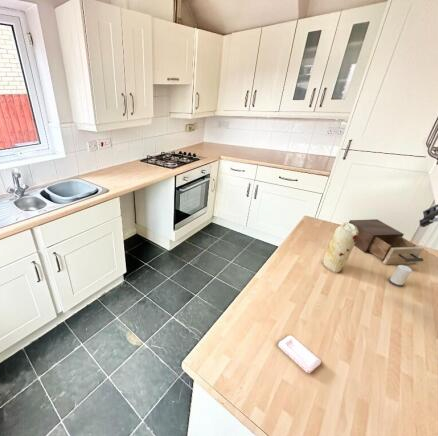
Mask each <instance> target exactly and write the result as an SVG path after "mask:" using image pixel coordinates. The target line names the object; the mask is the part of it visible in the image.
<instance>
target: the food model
mask: <svg viewBox="0 0 438 436" xmlns="http://www.w3.org/2000/svg"><path fill="white" fill-rule="evenodd" d="M358 233H359V232H358V229H357V227H356V226H355V225H353V224H350V223H349V222H343V223H342V224H341V225H339V226H338V227H336V229H335V230H334V233H333V235H332V238H331V240H330V242H329V245H328V247H327V249H326V253H325V255H324V258H323V265H324V266H325V267H326V268H327V269H328V270H330V271H331V272H334V273H336V274H337V273H340V272H341V271H342V269H343V267H344V266H345V265H346V263H347V261H348V259H349V257H350V255H351V253H352V252H353V249H354V246H355V245H354V244H355V242H356V239H357V236H358Z"/></svg>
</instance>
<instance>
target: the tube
mask: <svg viewBox="0 0 438 436" xmlns="http://www.w3.org/2000/svg"><path fill="white" fill-rule="evenodd" d="M412 271H413V270H412V268H410V267H409V266H407V265H404V264H397V267H396V268H395V270H394V272H393V273H392V275H391V277H390V278H389V279H388V282H389V283H390V284H391V285H394V286H397V287H403V286H404V283H405V282H406V281H407V279H408V277H409V276H410V274H411V273H412Z"/></svg>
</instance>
